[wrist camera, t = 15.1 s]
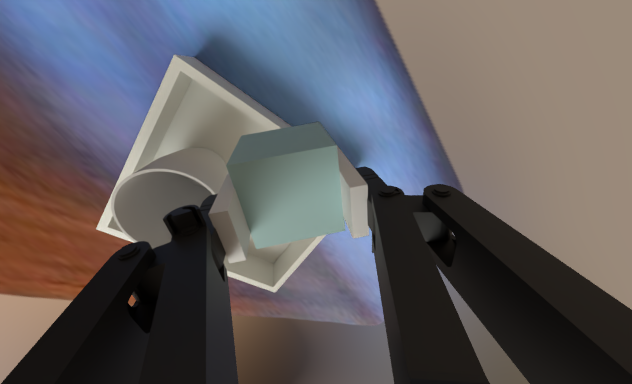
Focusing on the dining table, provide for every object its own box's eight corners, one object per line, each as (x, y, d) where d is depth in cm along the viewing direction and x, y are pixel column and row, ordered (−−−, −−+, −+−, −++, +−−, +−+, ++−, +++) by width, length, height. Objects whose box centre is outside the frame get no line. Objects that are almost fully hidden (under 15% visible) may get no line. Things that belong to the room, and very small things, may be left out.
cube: (261, 202, 17) (256, 249, 13) (241, 135, 14) (225, 165, 10) (328, 189, 17) (345, 230, 13) (319, 121, 15) (336, 144, 10)
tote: (123, 204, 28) (96, 229, 24) (194, 57, 22) (174, 54, 18) (275, 265, 37) (275, 292, 32) (354, 170, 31) (367, 187, 26)
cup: (174, 121, 24) (117, 151, 16) (250, 151, 27) (237, 190, 18) (160, 186, 27) (105, 241, 18) (229, 206, 30) (210, 263, 21)
